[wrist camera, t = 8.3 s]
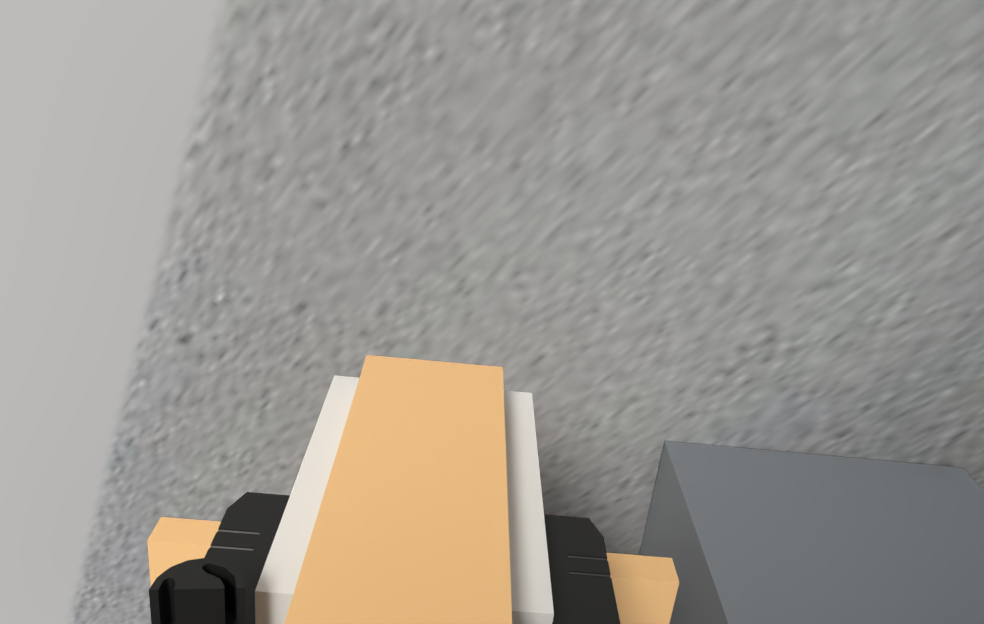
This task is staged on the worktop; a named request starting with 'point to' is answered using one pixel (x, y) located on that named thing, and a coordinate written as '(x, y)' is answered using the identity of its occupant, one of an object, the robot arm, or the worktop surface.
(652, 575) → the lid
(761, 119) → the worktop surface
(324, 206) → the worktop surface
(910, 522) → the tub
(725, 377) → the worktop surface
